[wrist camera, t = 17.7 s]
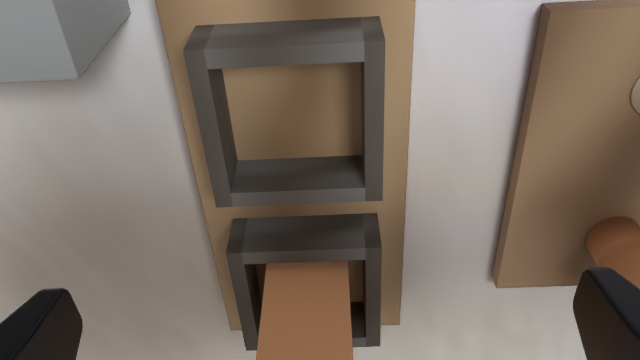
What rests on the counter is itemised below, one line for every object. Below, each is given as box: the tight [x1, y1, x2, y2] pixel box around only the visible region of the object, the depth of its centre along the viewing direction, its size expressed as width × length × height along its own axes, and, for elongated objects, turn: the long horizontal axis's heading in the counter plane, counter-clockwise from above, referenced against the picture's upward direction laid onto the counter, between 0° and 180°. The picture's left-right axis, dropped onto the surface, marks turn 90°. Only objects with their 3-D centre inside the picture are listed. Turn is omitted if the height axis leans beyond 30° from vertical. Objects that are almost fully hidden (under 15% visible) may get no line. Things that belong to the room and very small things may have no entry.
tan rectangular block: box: [256, 261, 353, 360], centre depth 21 cm, size 3×3×6 cm
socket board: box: [155, 0, 415, 350], centre depth 21 cm, size 8×16×4 cm, turn 3°
